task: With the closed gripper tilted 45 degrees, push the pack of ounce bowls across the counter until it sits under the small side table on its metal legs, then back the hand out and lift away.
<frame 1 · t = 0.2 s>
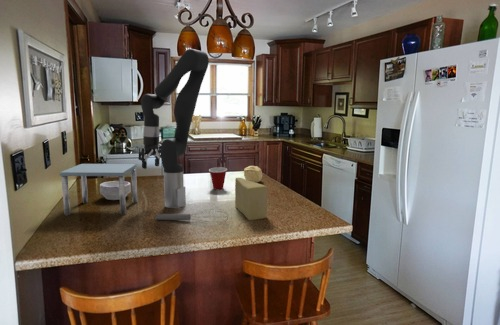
hand: (150, 167, 171), 18 cm above the counter, tool pointing down, fingers open, 8 cm apart
beige textured ball: (253, 182, 223), on the counter
kitchen whisk: (190, 222, 146), on the counter
plastic cup: (218, 189, 204), on the counter
paper bowls: (115, 198, 181), on the counter
small side table: (103, 207, 163), on the counter
beige rectangular block: (246, 213, 159), on the counter
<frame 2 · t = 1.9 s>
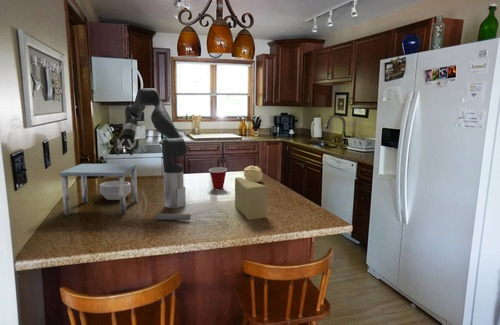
hand: (124, 154, 195), 21 cm above the counter, tool tilted 45°, fingers open, 7 cm apart
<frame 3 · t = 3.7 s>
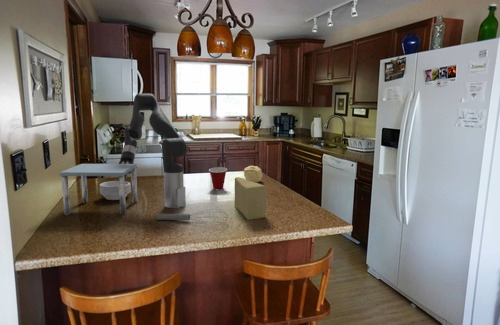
hand: (122, 179, 193), 7 cm above the counter, tool tilted 45°, fingers closed
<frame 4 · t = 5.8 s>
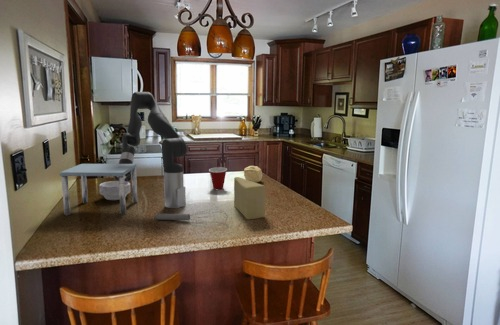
hand: (120, 187, 188), 4 cm above the counter, tool tilted 45°, fingers closed
paper bowls: (115, 198, 181), on the counter, touching gripper
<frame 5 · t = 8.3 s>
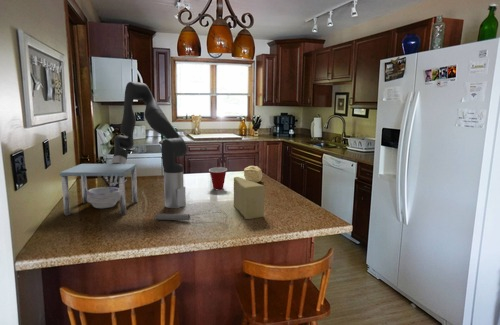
hand: (111, 194, 174), 4 cm above the counter, tool tilted 45°, fingers closed
paper bowls: (104, 206, 167), on the counter, touching gripper
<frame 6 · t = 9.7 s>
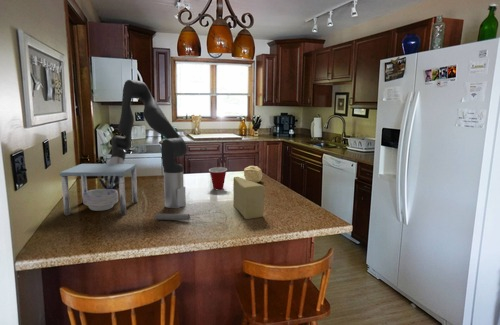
hand: (108, 196, 170), 4 cm above the counter, tool tilted 45°, fingers closed
paper bowls: (101, 208, 163), on the counter, touching gripper
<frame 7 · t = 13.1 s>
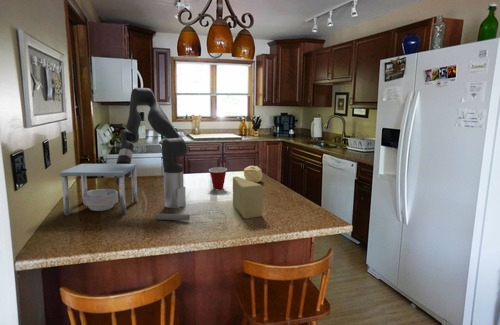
hand: (118, 184, 186), 6 cm above the counter, tool tilted 45°, fingers closed
paper bowls: (101, 208, 163), on the counter
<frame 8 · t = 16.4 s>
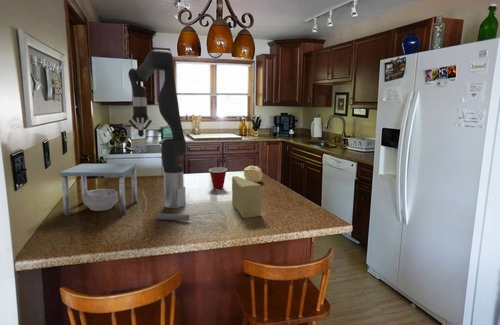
hand: (141, 136, 193), 31 cm above the counter, tool pointing down, fingers closed
at the end: paper bowls 0.8 cm from the small side table (horizontally); paper bowls tilted 0° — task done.
